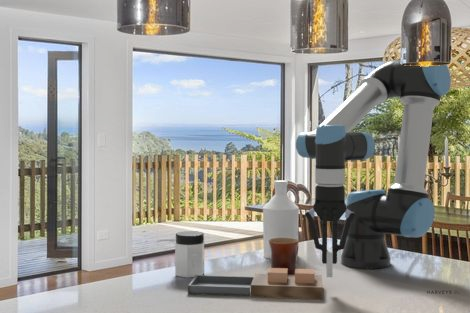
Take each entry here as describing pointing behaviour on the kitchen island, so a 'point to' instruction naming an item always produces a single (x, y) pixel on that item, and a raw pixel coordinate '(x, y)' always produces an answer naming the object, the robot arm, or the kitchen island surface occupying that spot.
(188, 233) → the jar
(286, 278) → the tile
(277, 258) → the mug
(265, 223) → the bottle
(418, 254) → the kitchen island surface
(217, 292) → the tray
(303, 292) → the board
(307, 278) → the tile
